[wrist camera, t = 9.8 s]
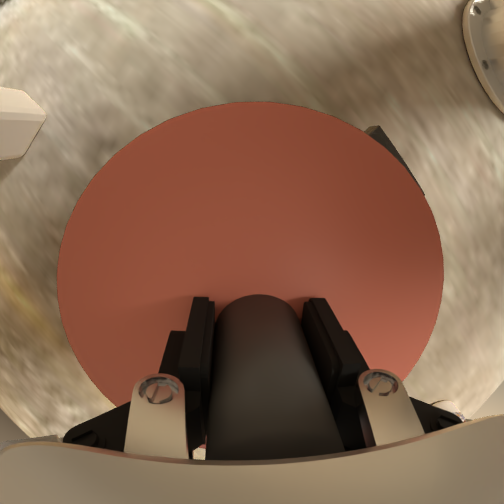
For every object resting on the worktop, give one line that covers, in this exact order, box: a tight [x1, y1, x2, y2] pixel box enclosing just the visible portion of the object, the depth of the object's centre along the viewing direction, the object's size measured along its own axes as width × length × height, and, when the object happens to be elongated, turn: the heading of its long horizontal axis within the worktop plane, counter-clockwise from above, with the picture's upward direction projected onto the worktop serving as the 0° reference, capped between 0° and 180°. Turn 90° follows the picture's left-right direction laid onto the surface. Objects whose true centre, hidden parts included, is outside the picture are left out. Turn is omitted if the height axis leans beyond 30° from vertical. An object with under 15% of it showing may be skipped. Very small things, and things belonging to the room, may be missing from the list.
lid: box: [57, 102, 444, 460], centre depth 10 cm, size 16×16×8 cm
